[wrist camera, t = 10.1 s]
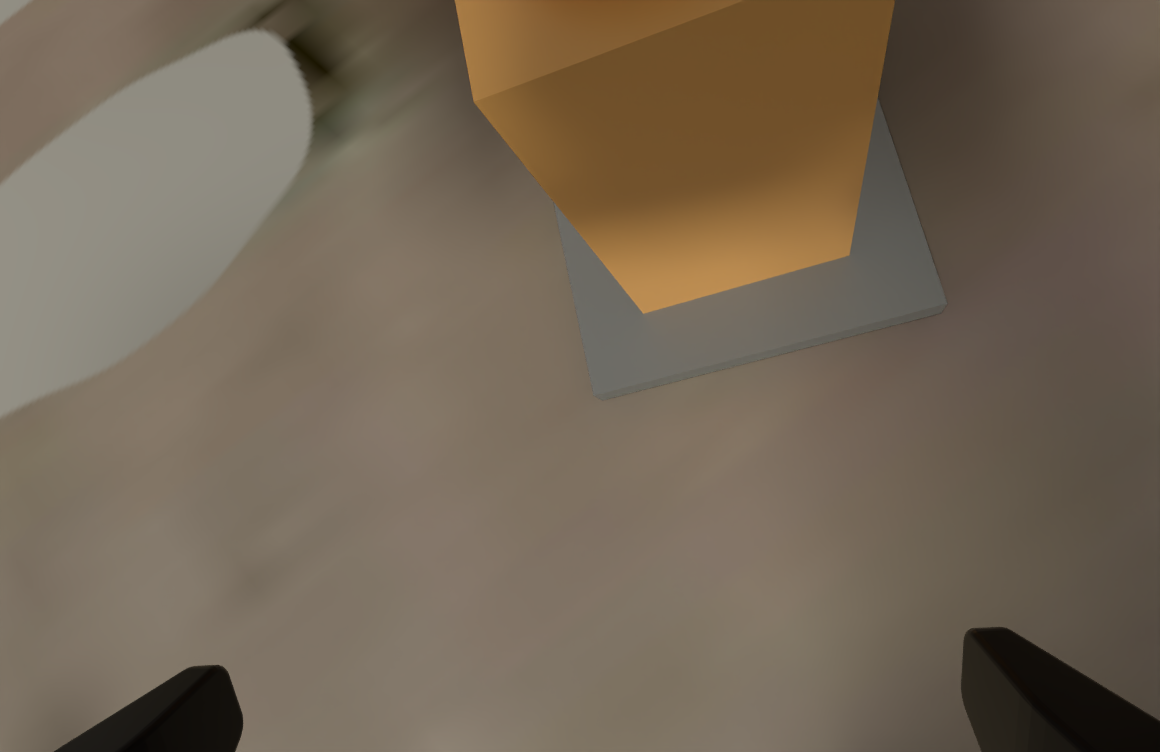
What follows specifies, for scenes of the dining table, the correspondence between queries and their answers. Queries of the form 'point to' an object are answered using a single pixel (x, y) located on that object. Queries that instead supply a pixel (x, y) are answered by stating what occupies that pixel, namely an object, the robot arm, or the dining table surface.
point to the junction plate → (763, 296)
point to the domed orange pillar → (687, 127)
